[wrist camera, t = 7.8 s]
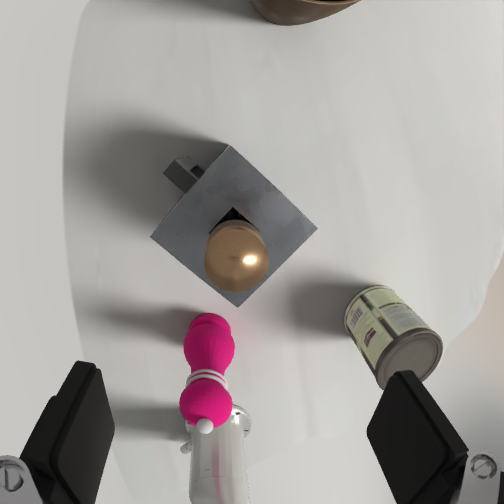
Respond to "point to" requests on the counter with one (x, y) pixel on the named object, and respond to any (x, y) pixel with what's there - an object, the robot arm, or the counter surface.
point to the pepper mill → (207, 373)
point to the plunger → (235, 254)
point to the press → (218, 204)
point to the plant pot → (299, 10)
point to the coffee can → (391, 335)
